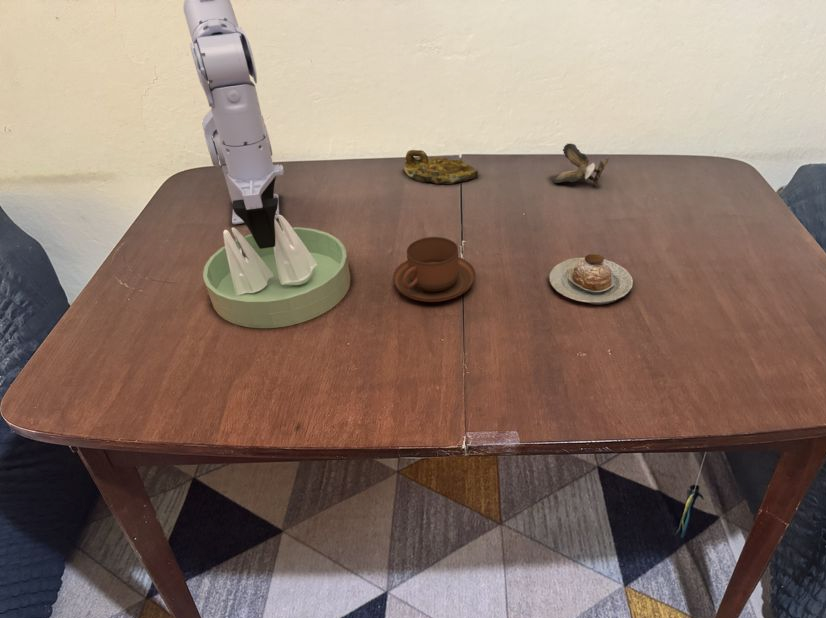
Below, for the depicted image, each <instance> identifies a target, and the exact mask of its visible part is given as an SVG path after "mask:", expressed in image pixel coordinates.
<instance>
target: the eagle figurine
mask: <svg viewBox="0 0 826 618" xmlns="http://www.w3.org/2000/svg"><path fill="white" fill-rule="evenodd" d="M562 151H563V154H564V157H565V158H566V159H567V160H569V162H570V163H571V164H572V165H574V166H575V167H577V168H576V169H574V170H566V171H562V172H561V173H559V174H558V175H557V174H556V175H555V176H553V177H552V178H551V181H552V182H553V183H554V184H558V183H559V184H560V183H564V182H570V183H574V182H578V181H579V180H580V179H585V180H587V179H588V180H590V181H592V182H593V184H594V187H595V188H597V187H598V185H599V184H598V183H599V180H600V178H601V176H602V173H603V171H604V169H605V168H606V166H607V164H608V162H609V159H610V157H609V156H608V157H606V159H605V160H604V162H603V161H602V160H600V161H599V163H598V168H596V163H595V162H591V164H589V162H590V161H589V159H588V157H587V155H586V154H585V153H582V152H581V151H580V149H578V147H577V145H576V144H575V143H566V144H565V145H564V146H563V149H562ZM593 173H595V176H593V175H592V174H593Z"/></svg>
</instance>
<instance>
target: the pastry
mask: <svg viewBox="0 0 826 618" xmlns="http://www.w3.org/2000/svg"><path fill="white" fill-rule="evenodd" d="M548 278H549V283H550V285H551V286H552V288H553V289H554V290H555V291H556V293H558V294H560V295H562V296H564V297H566V298H568V299H571V300H574V301H577V302H582V303H588V304H591V305H594V306H597V305H598V306H600V305H601V306H603V305H609V304H612V303H615V302H616V301H618V300H619V299H624V297H626V296H627V295H628V293H629V292H630V291H631V290H632V288H633V286H634V281H633V277H632V275H631V273H629V271H628V270H627V269H626V268H624V267H623V266H621V265H620V264H619V263H616V262H614V261H612V260H608V259H605V257H604V256H603V255H602V254H598V253H591V254H590V253H589V254H587V255H585V256H584V257H573V258H568V259H566V260H563V261H561V262H560V263H558V264H555V266H553V268H552V269H551V270H550V272H549V275H548Z"/></svg>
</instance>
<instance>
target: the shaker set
mask: <svg viewBox="0 0 826 618" xmlns="http://www.w3.org/2000/svg"><path fill="white" fill-rule="evenodd" d="M277 220H278V221H279V222H278V221H277ZM274 224H275V247H273V248H274V253H275V259H276V265H277V270H278V275H279V280H280V283H281V284H282V285H302V284H305V283H306V282H307V281H308V280H309V279H310V278H311V276H312V274H313V271H314V269H315V267H316V266H317V262H316V261H315V259H314V258H313V257H312V255H311V254H310V252H309V251H308V249H307V248H306V246H305V245H304V244H303V242H302V241H301V239H300V238H299V237H298V235H297V234H296V233H295V231H294V230H293V228H292V226H291V224H290V223H289V221H288V220H287V219H286V218H285V217H284V216H283V215H282V214H279V215H278V219H275V221H274ZM281 228H282V229H283V231H282V230H281ZM231 232H232V234H233V236H234V238H235V239H234V238H233V236H232V235H231V233H230V231H229V230H228V229H224V230H223V232H222V235H223V243H224V246H225V249H226V254H227V258H228V263H229V268H230V272H231V277H232V281H233V285H234V289H235V293H236V295H237V296H239V295H241V294H244V293H254V292H257V291H260V290H261V289H263V288H264V287H265V286H266V285H267V284H268V283H267V281H268V279H269V278H271V277H273V276H274V275H273V273H272V272H271V271H270V269H269V268H268V266H266V263H264V262H263V260H262V259H261V258H260V256H259V255H258V254H257V253H256V251H255V250H254V249H253V248H252V246H251V245H250V244H249V243H248V242H247V240H246V239H245V238H244V235H243V234H242V233H241V231H239V230H238V228H236V227H231ZM234 240H237V243H238V245H239V247H240V250H239V249H238V247H237V245H236V243H235V241H234Z"/></svg>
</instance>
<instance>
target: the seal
mask: <svg viewBox="0 0 826 618" xmlns="http://www.w3.org/2000/svg"><path fill="white" fill-rule="evenodd" d="M415 157H418V158H419V159H417V158H415ZM403 169H404V170H403V171H404V173H405V174H406V176H407V177H409V179H410V178H411V179H412V180H415V181H417V182H421V183H432V184H437V185H438V184H440V185H451V184H455V183H461V182H467V181H469V180H472V179H475V178H476V177H477V176H478V175H479V171H478V170H477V169H476V168H475V167H473V166H472V165H470V164H469V163H466V162H464V161H463V160H461V159H456V160H455V159H449V158H447V157H443V158H442V157H434V156H431V157H430V158H429V156H428V155H427V153H426V152H425V151H424V150H421V149H418V150H416V149H411V150H410V149H409V150H408V151H407V152H406V154H405V162H404V164H403Z"/></svg>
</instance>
